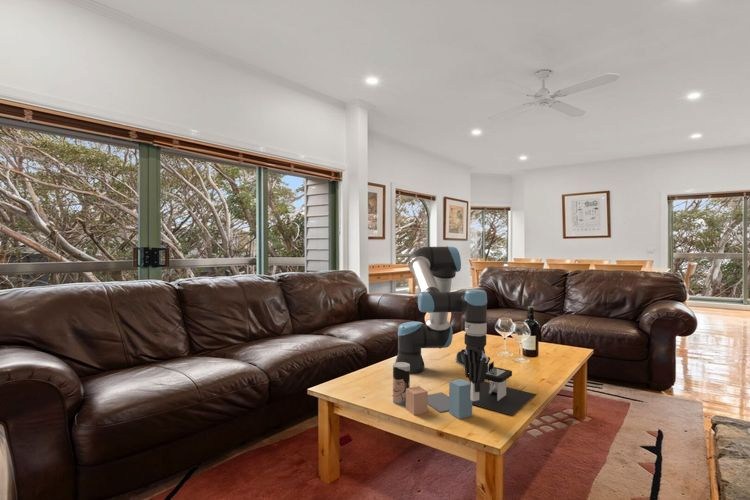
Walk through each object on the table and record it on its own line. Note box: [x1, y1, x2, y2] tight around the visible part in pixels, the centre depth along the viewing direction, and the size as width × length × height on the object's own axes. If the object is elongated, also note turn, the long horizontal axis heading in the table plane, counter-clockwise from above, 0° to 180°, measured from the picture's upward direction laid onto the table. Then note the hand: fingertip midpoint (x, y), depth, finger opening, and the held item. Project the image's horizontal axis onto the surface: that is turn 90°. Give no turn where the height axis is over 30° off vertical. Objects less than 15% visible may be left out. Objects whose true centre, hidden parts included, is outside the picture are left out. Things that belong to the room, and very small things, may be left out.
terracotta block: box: [405, 386, 429, 416], centre depth 154 cm, size 6×6×8 cm
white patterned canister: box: [392, 362, 411, 406], centre depth 162 cm, size 7×7×15 cm
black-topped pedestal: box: [472, 360, 537, 416], centre depth 168 cm, size 28×26×13 cm
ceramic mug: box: [455, 350, 464, 367], centre depth 213 cm, size 11×8×8 cm
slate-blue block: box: [448, 378, 473, 420], centre depth 150 cm, size 6×6×12 cm
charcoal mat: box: [428, 392, 449, 414], centre depth 162 cm, size 16×12×1 cm
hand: (474, 399), depth 143 cm, fingers closed
